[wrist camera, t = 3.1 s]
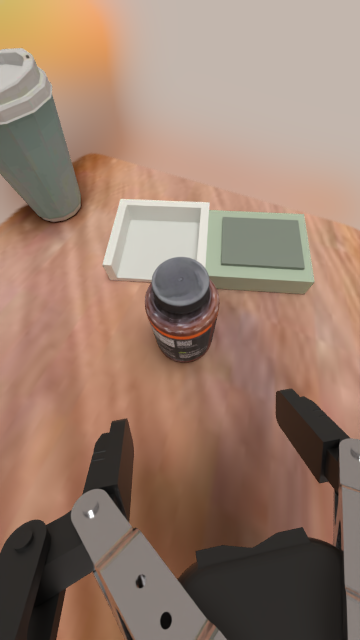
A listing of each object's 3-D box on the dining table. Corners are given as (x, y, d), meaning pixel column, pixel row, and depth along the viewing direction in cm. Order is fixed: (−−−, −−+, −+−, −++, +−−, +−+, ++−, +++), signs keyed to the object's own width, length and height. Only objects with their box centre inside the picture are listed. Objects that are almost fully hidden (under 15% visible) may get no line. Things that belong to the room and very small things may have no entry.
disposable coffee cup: (30, 243, 33) (-80, 111, 19) (17, 194, 37) (-83, 57, 24) (105, 217, 35) (51, 78, 21) (84, 172, 39) (28, 32, 25)
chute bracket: (110, 279, 30) (102, 264, 27) (126, 217, 35) (120, 198, 32) (203, 285, 29) (205, 270, 27) (207, 221, 34) (209, 202, 31)
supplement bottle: (191, 304, 28) (193, 231, 18) (222, 344, 26) (244, 288, 16) (147, 330, 27) (122, 268, 17) (175, 375, 25) (167, 335, 15)
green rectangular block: (201, 287, 29) (202, 273, 27) (205, 225, 33) (207, 207, 31) (304, 294, 29) (316, 280, 26) (295, 229, 33) (305, 211, 30)
